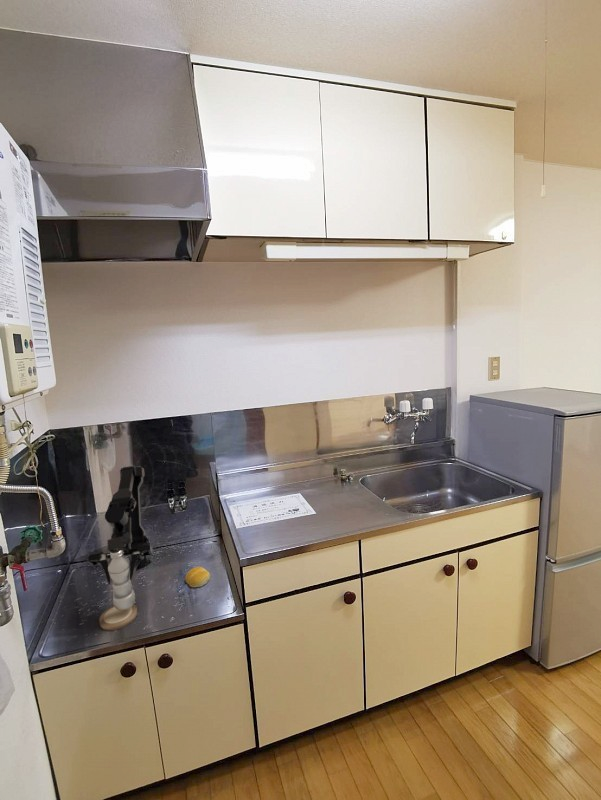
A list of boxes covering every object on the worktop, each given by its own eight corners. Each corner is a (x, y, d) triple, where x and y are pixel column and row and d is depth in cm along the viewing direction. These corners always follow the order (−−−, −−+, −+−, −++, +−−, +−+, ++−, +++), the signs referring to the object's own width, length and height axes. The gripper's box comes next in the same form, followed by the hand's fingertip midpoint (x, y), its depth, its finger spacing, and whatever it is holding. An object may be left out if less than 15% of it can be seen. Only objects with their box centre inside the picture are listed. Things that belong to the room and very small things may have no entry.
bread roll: (193, 591, 137) (192, 581, 136) (182, 580, 144) (181, 570, 143) (214, 580, 142) (213, 571, 142) (203, 570, 149) (202, 560, 148)
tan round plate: (94, 619, 126) (93, 615, 126) (127, 600, 134) (126, 596, 134) (109, 636, 119) (108, 631, 119) (143, 614, 127) (142, 610, 127)
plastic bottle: (111, 615, 122) (101, 557, 118) (117, 600, 129) (108, 545, 125) (133, 611, 123) (124, 554, 119) (138, 597, 130) (129, 542, 126)
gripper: (83, 530, 122) (79, 583, 114) (146, 520, 127) (147, 570, 119) (93, 540, 132) (90, 590, 123) (152, 530, 136) (153, 578, 128)
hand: (120, 582), depth 123 cm, fingers closed on plastic bottle, 6 cm apart
